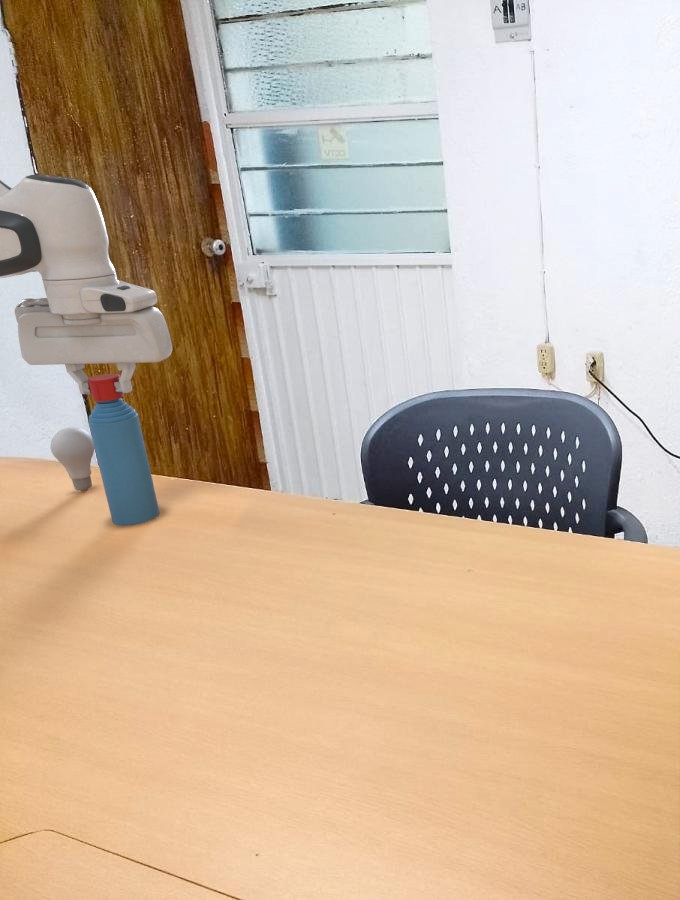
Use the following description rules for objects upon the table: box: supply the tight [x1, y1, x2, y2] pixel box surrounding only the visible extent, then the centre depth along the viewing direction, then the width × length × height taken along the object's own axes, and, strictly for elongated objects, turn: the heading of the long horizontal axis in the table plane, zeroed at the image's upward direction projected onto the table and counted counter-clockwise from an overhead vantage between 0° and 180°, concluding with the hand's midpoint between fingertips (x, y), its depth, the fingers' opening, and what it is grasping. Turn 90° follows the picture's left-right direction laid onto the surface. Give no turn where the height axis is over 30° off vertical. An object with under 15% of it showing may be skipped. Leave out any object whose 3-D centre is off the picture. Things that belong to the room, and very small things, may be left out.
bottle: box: [87, 397, 160, 527], centre depth 123 cm, size 6×6×22 cm
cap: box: [88, 373, 125, 402], centre depth 120 cm, size 4×4×3 cm
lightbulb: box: [50, 426, 95, 493], centre depth 136 cm, size 6×6×11 cm
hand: (107, 392), depth 120 cm, fingers closed on cap, 4 cm apart
